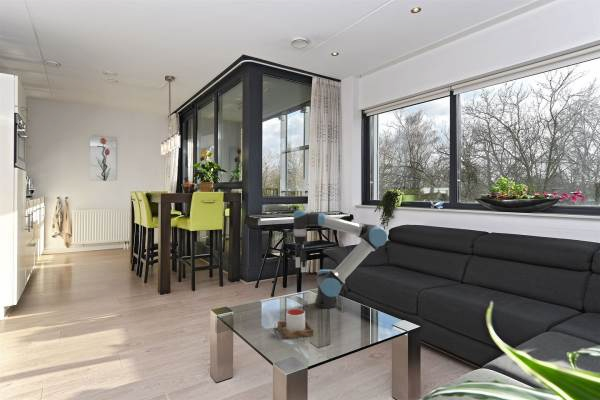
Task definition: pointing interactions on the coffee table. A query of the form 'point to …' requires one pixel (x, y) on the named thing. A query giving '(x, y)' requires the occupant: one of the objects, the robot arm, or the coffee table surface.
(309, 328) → the wooden tray
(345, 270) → the robot arm
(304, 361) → the coffee table surface
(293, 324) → the cup
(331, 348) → the coffee table surface
